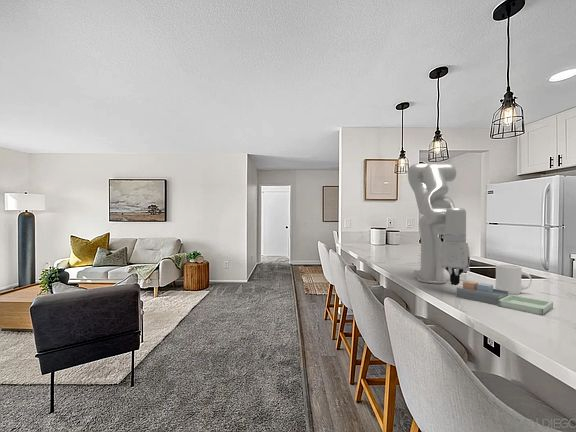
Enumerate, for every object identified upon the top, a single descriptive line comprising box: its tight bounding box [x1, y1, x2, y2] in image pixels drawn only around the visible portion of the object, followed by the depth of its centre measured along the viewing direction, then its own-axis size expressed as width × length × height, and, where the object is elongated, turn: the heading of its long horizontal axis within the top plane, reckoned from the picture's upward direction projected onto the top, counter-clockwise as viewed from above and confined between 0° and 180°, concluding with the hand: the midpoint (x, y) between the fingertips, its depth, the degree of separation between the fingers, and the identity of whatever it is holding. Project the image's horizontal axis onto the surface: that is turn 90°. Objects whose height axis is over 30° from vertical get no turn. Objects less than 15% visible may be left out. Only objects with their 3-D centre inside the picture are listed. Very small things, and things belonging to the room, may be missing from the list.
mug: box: [495, 263, 532, 295], centre depth 128 cm, size 9×12×11 cm
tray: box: [497, 294, 554, 316], centre depth 108 cm, size 12×12×2 cm
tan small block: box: [462, 280, 479, 291], centre depth 121 cm, size 4×4×3 cm
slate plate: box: [456, 287, 509, 306], centre depth 118 cm, size 14×10×4 cm
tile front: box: [477, 282, 494, 293], centre depth 117 cm, size 4×4×3 cm
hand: (454, 284), depth 126 cm, fingers closed
